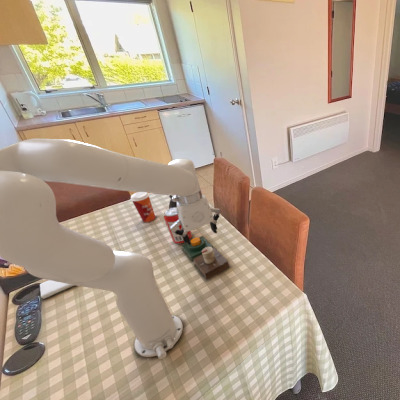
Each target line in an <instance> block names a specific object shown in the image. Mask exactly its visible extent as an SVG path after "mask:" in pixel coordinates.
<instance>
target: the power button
mask: <svg viewBox="0 0 400 400" xmlns="http://www.w3.org/2000/svg"><path fill="white" fill-rule="evenodd" d="M190 241H191V244H192V246H197V245H199V244H200V243H201V241H200V237H193V238H191V239H190Z"/></svg>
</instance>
